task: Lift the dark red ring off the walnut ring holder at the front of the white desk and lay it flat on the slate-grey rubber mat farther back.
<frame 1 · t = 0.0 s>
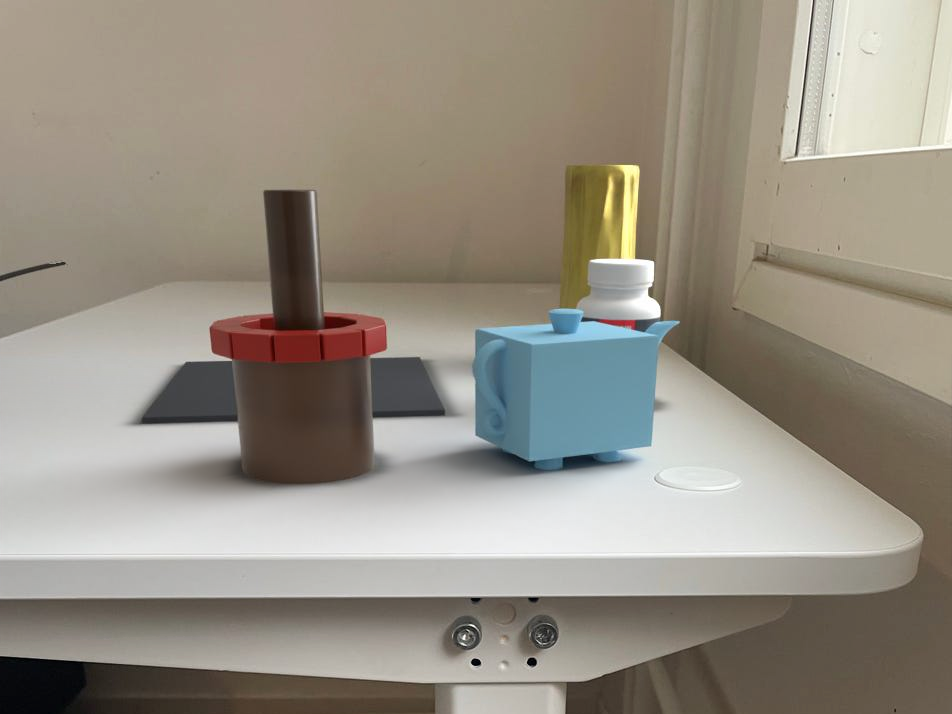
ring holder: (309, 470, 52), on the table
pill bottle: (612, 410, 66), on the table
ring: (300, 348, 49), point 6 cm above the table, touching ring holder
teapot: (575, 460, 54), on the table
vase: (592, 372, 79), on the table
mat: (301, 391, 70), on the table
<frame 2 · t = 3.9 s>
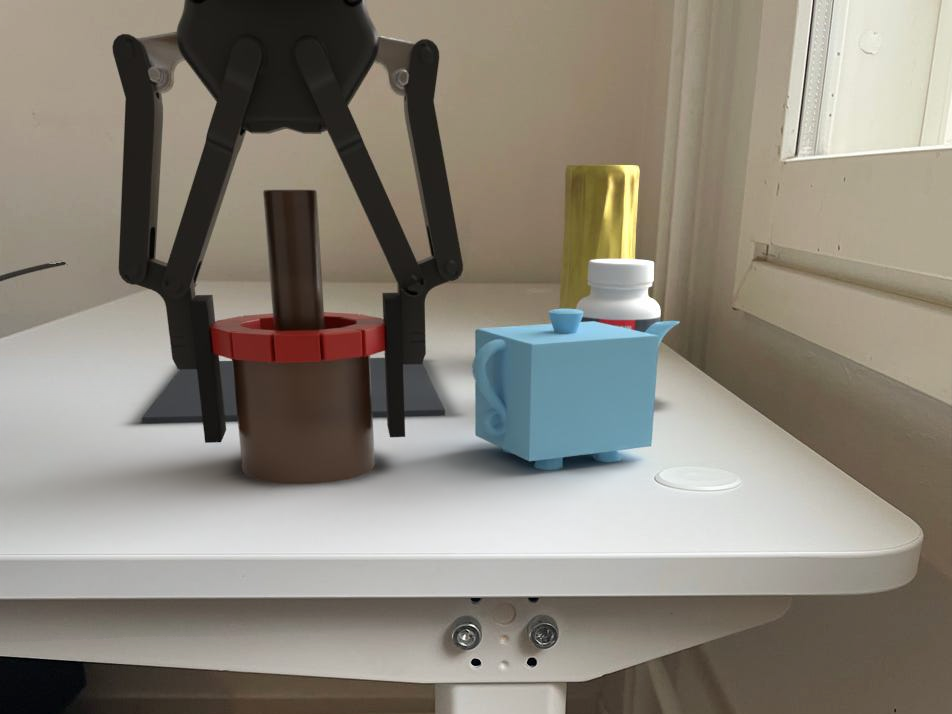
hand: (306, 433, 51), 2 cm above the table, tool pointing down, fingers closed on ring, 8 cm apart
ring: (300, 348, 49), point 6 cm above the table, touching gripper, ring holder
everything else where it was.
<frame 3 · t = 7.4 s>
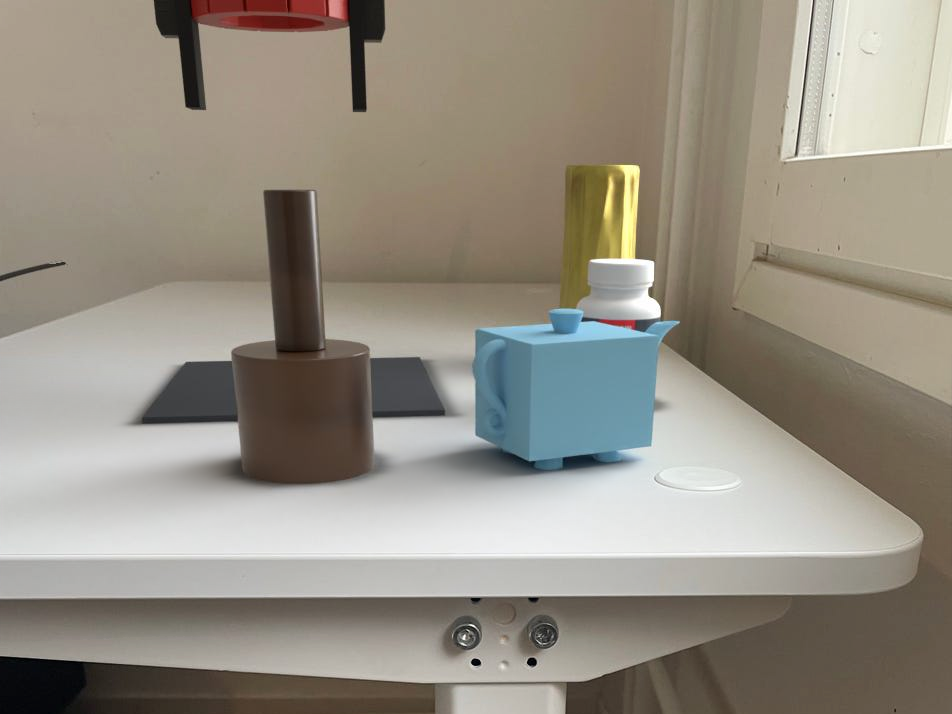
hand: (278, 109, 56), 17 cm above the table, tool pointing down, fingers closed on ring, 8 cm apart
ring: (272, 22, 54), point 21 cm above the table, touching gripper
everything else where it was.
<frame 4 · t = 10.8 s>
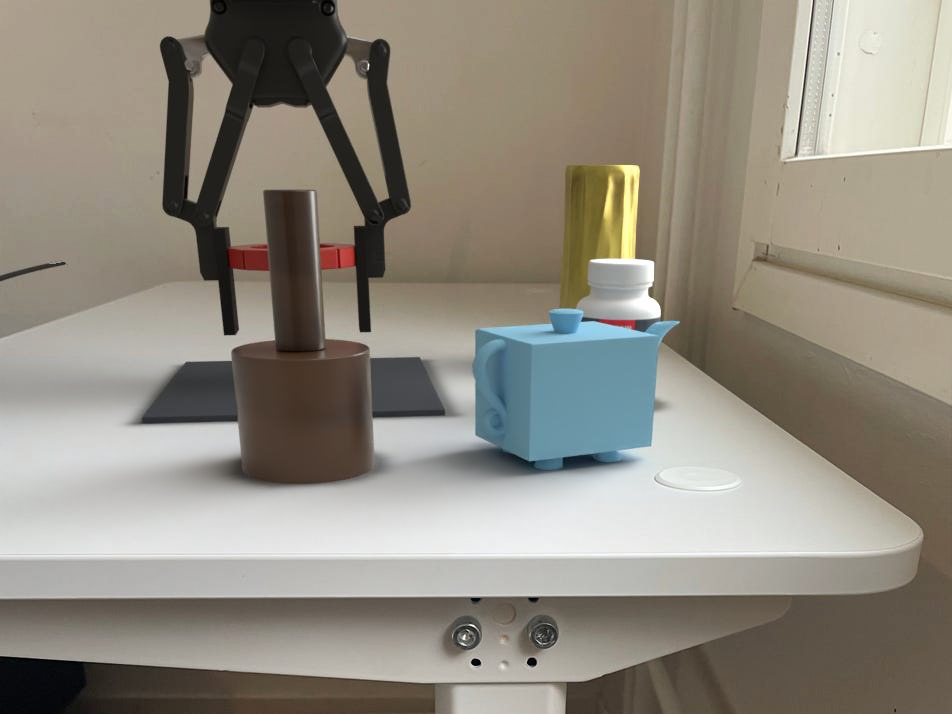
hand: (298, 330, 69), 4 cm above the table, tool pointing down, fingers closed on ring, 8 cm apart
ring: (293, 265, 67), point 8 cm above the table, touching gripper
everything else where it was.
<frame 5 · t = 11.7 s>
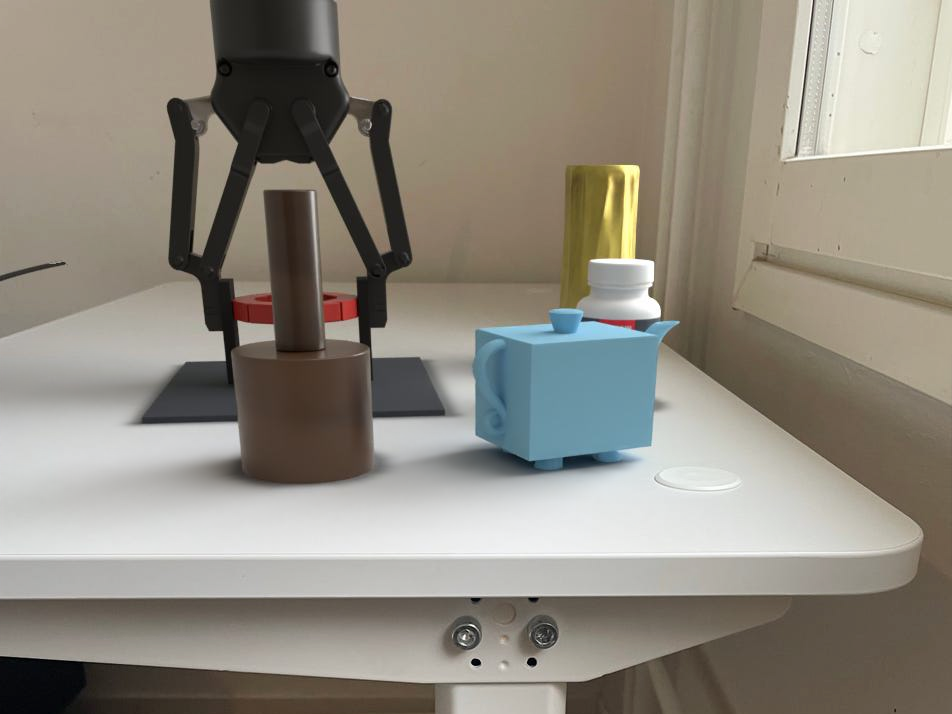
hand: (301, 378, 70), 1 cm above the table, tool pointing down, fingers closed on ring, 8 cm apart
ring: (297, 316, 68), point 5 cm above the table, touching gripper
everything else where it was.
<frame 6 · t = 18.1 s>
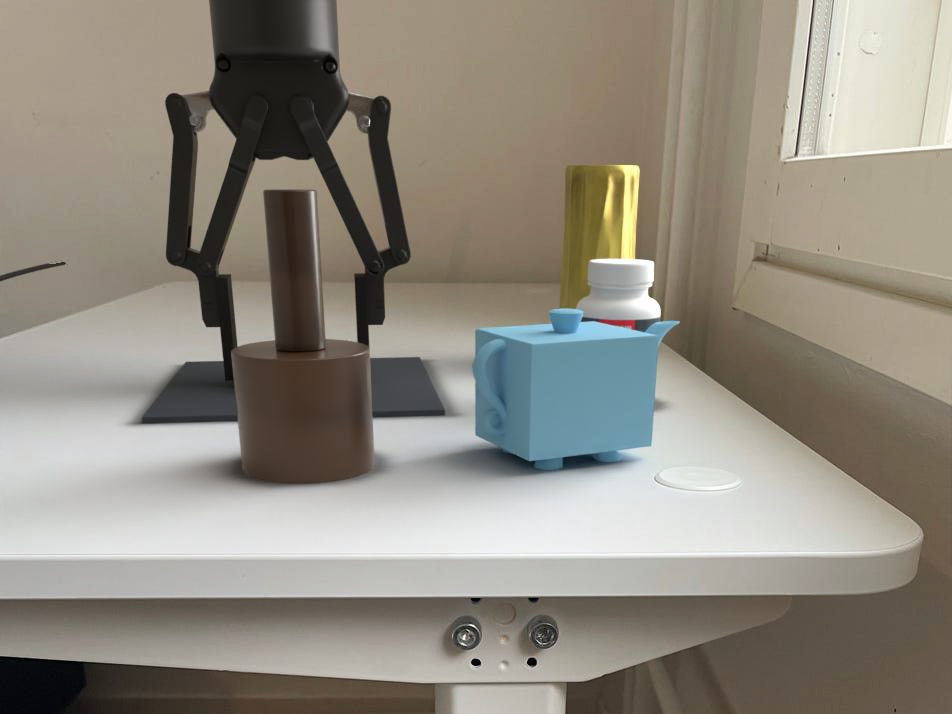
hand: (299, 375, 70), 1 cm above the table, tool pointing down, fingers closed on ring, 8 cm apart
ring: (299, 379, 70), point 1 cm above the table, touching gripper
everything else where it was.
when the fingers open (1 cm above the table, at t = 18.2 s): ring stays where it is, resting on mat.
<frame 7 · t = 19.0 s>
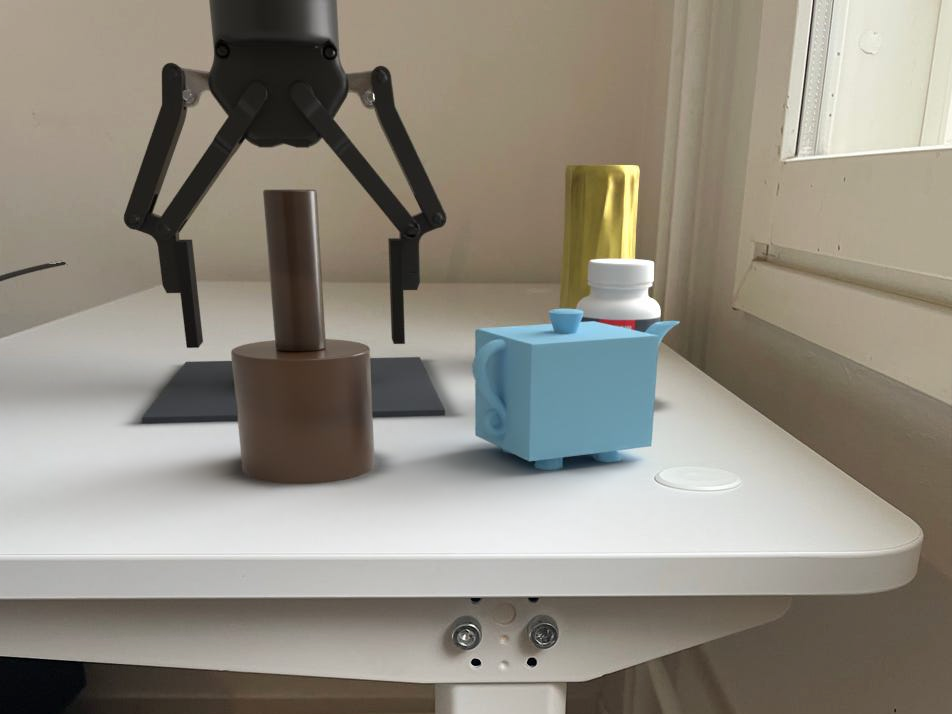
hand: (297, 343, 69), 3 cm above the table, tool pointing down, fingers open, 13 cm apart
ring: (299, 382, 70), point 1 cm above the table, touching mat
everything else where it was.
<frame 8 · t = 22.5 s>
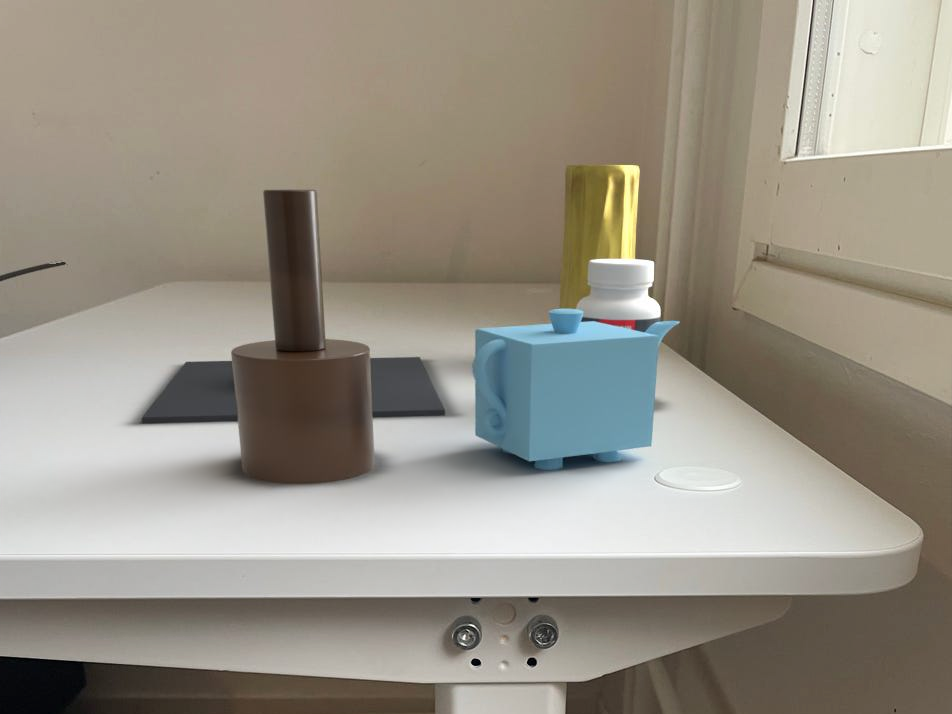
nothing on the table moved.
at the end: ring inside the target area on the mat (0.1 cm from its centre), point 0.6 cm above the mat's base; ring tilted 0° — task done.
